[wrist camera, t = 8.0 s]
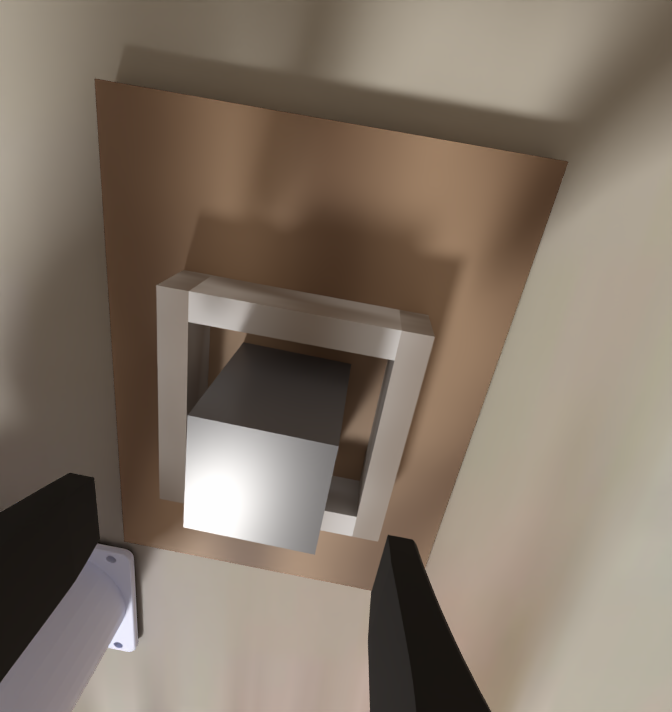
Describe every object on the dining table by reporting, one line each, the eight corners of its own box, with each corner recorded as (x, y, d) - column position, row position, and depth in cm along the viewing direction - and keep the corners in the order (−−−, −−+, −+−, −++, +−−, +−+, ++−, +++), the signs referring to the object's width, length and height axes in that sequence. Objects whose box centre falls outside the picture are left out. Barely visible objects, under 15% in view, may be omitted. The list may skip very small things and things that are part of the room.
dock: (135, 525, 22) (99, 578, 19) (113, 83, 14) (46, 65, 11) (412, 580, 21) (417, 641, 19) (555, 161, 13) (600, 161, 11)
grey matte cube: (234, 432, 17) (183, 527, 13) (243, 342, 16) (187, 414, 11) (332, 452, 17) (314, 554, 13) (351, 363, 16) (338, 446, 11)
